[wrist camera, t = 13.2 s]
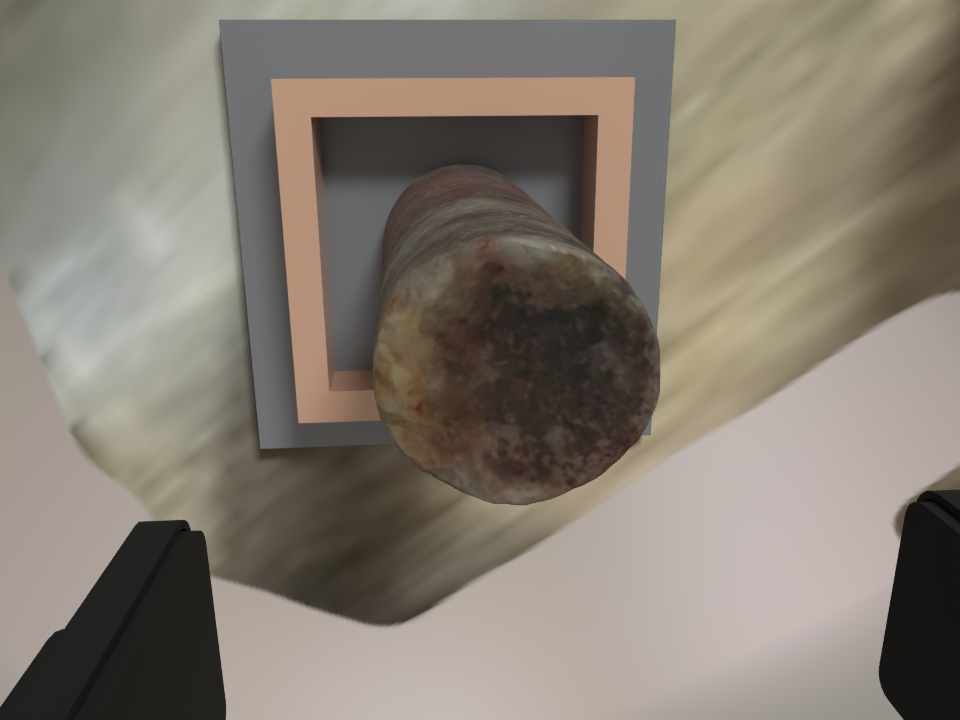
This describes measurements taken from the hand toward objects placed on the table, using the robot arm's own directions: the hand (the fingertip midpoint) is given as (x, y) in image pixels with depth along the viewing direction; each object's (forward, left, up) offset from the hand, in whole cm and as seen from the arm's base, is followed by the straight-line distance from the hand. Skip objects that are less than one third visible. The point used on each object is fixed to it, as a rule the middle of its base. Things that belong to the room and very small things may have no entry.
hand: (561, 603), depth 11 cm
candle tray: (0, 0, -30) cm, 30 cm away
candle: (0, 0, -29) cm, 29 cm away
